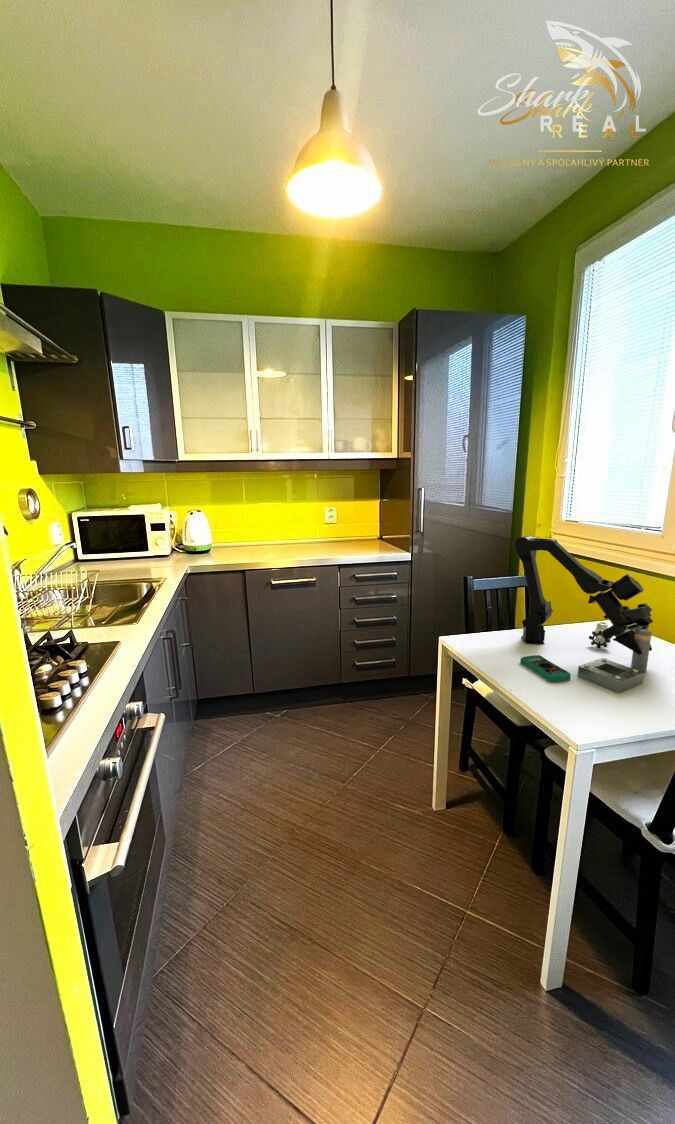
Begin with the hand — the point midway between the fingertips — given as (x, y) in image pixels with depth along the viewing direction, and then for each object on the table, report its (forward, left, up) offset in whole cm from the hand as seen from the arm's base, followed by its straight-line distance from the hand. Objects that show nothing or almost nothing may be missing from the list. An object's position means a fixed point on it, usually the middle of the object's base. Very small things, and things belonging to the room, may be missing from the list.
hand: (645, 652), depth 129 cm
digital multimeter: (-30, -3, -7) cm, 31 cm away
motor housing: (-13, -7, -7) cm, 16 cm away
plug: (-1, +1, -7) cm, 7 cm away
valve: (-2, +24, -7) cm, 25 cm away
